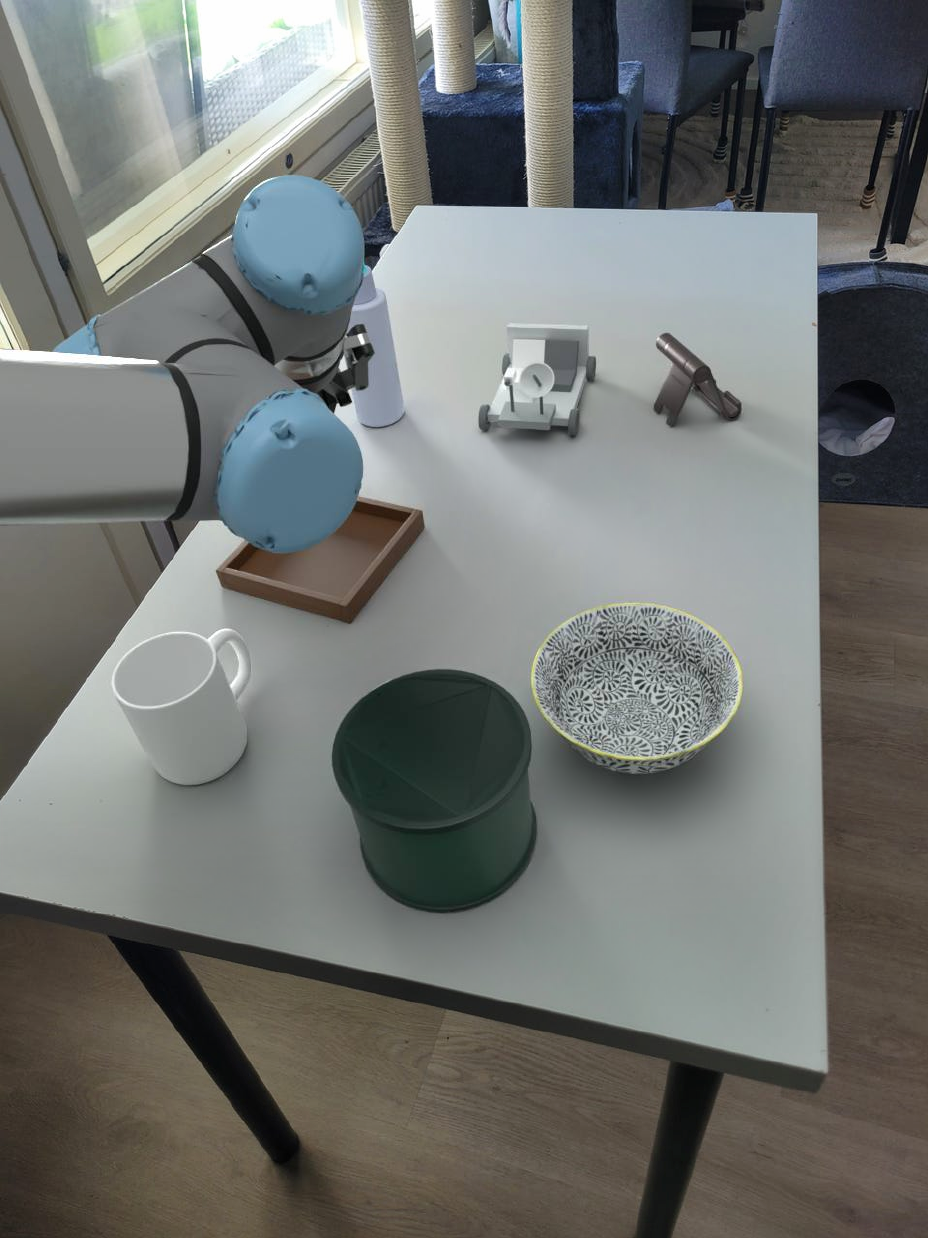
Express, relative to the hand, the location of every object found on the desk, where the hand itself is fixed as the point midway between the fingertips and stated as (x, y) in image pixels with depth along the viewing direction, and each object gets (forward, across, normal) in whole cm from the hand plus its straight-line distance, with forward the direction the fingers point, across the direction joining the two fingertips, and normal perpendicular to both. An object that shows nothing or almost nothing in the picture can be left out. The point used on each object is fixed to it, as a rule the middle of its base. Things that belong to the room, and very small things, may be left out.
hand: (284, 422), depth 89 cm
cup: (-5, -16, -26) cm, 31 cm away
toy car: (+17, +32, -3) cm, 36 cm away
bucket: (-18, -2, -39) cm, 43 cm away
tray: (+8, 0, -13) cm, 15 cm away
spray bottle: (+24, +15, +3) cm, 28 cm away
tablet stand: (+10, +47, -11) cm, 49 cm away
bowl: (-17, +15, -38) cm, 44 cm away
